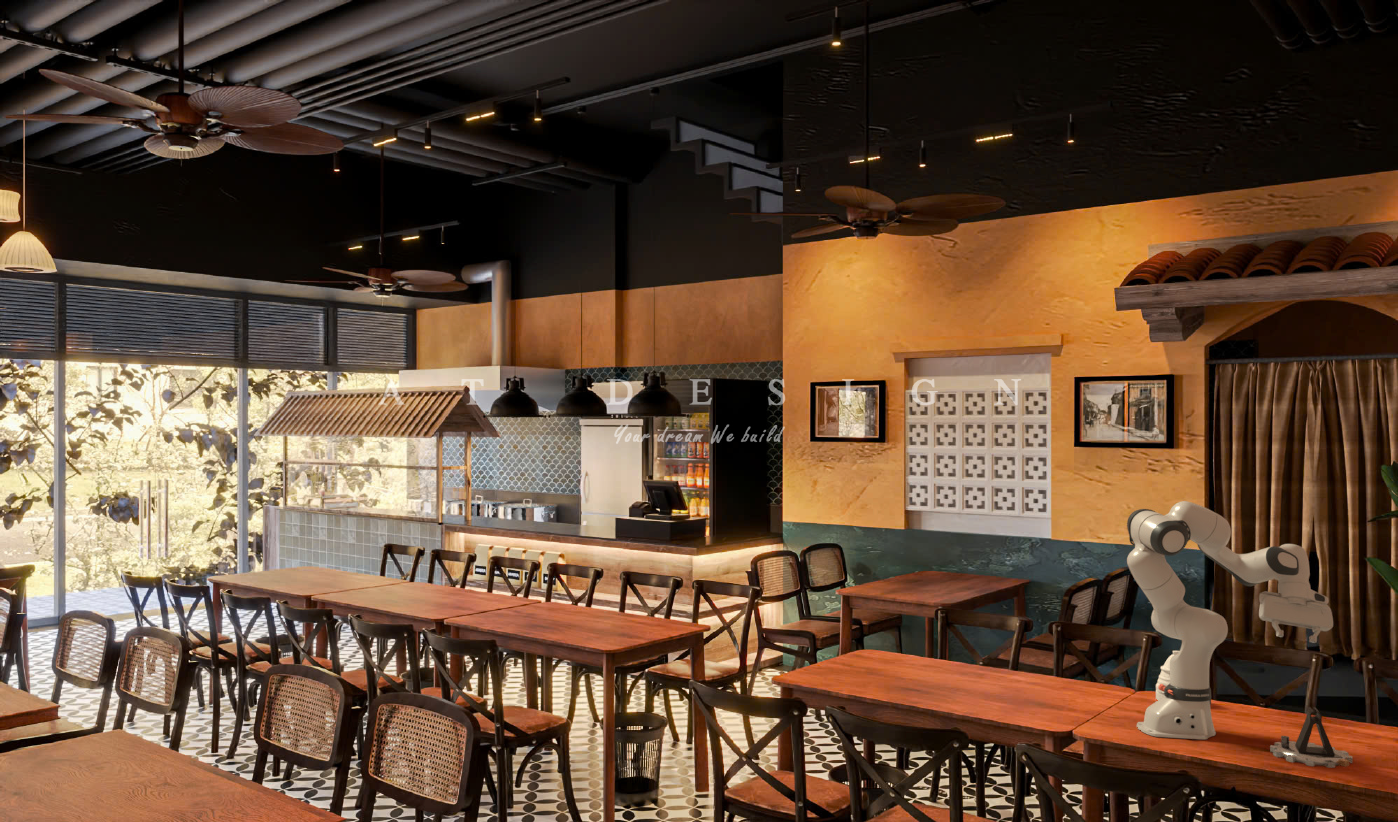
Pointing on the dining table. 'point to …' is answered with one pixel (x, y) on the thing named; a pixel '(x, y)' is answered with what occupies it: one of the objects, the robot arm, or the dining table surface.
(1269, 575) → the robot arm
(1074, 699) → the dining table surface
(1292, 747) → the sprocket
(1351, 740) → the dining table surface
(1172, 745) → the dining table surface
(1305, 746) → the dark grey triangular bracket
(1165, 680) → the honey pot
